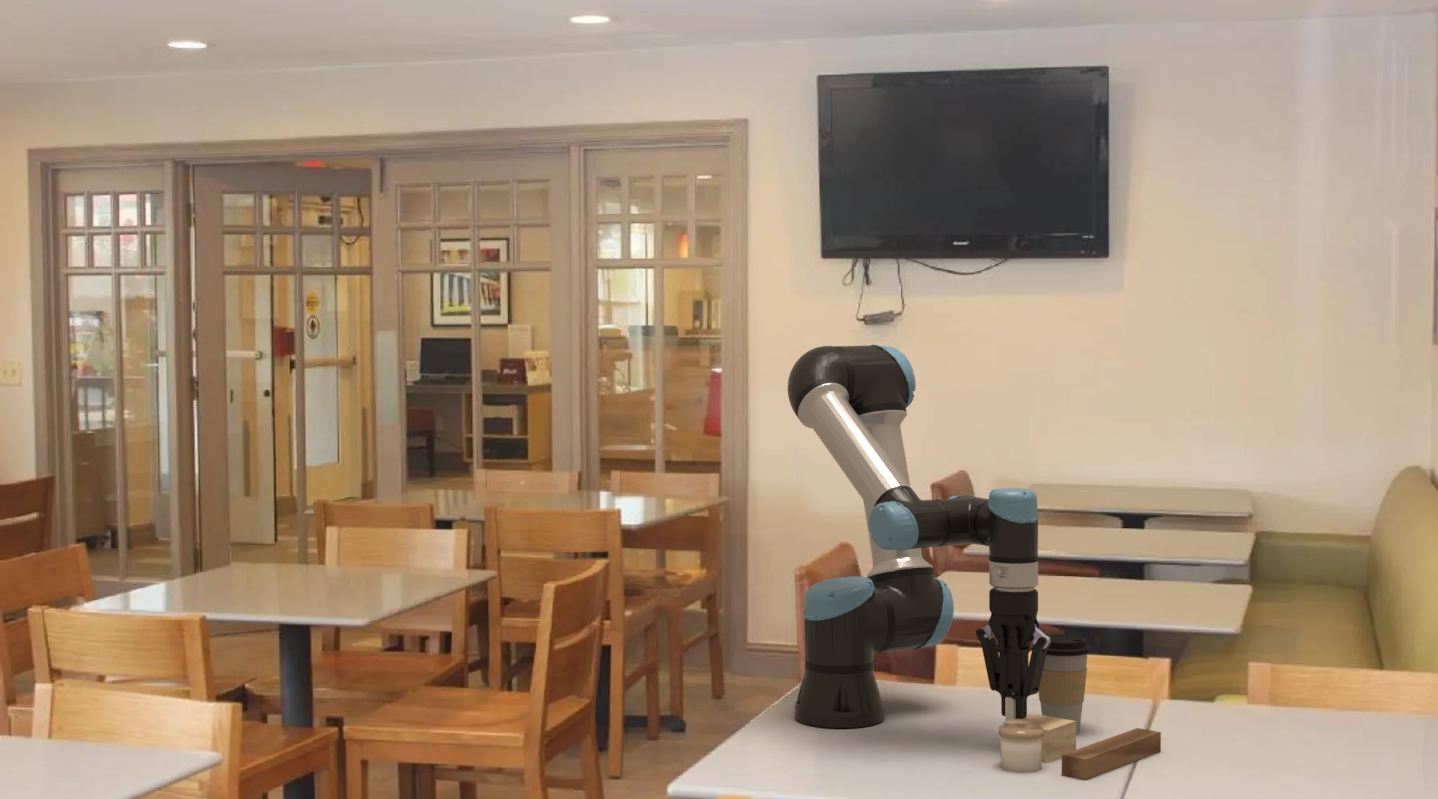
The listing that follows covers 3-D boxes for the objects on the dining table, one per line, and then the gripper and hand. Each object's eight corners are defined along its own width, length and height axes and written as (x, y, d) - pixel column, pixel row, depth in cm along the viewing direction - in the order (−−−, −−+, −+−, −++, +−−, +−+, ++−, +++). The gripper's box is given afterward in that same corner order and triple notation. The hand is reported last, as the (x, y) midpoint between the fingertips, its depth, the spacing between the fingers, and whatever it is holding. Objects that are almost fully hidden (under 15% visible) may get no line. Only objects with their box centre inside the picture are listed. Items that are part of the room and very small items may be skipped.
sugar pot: (989, 767, 242) (989, 729, 241) (1014, 759, 246) (1014, 721, 246) (1027, 775, 237) (1027, 736, 237) (1052, 766, 242) (1052, 728, 242)
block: (1003, 754, 249) (1003, 722, 249) (1031, 744, 255) (1031, 713, 255) (1048, 763, 244) (1048, 730, 244) (1076, 753, 250) (1076, 720, 250)
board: (1061, 775, 237) (1061, 754, 237) (1137, 747, 253) (1137, 728, 253) (1085, 780, 234) (1085, 759, 234) (1160, 751, 250) (1160, 732, 250)
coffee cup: (1091, 737, 259) (1091, 644, 258) (1031, 735, 261) (1031, 642, 260) (1089, 724, 268) (1089, 634, 268) (1031, 721, 270) (1031, 632, 270)
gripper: (965, 586, 254) (965, 735, 255) (1036, 594, 245) (1036, 749, 246) (992, 581, 259) (993, 727, 260) (1062, 589, 250) (1063, 740, 251)
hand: (1014, 737), depth 253 cm, fingers closed
